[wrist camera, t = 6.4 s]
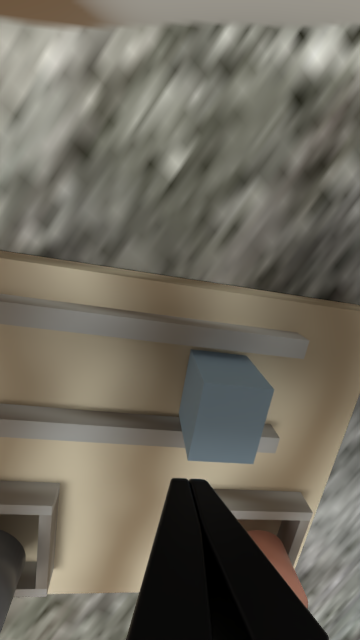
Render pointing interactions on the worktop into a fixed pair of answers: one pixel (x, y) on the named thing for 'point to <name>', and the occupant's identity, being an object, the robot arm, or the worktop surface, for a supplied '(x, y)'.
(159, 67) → the worktop surface
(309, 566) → the worktop surface
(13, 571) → the black button
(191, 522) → the robot arm
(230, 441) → the slider knob
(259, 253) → the worktop surface
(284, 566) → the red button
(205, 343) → the control panel
